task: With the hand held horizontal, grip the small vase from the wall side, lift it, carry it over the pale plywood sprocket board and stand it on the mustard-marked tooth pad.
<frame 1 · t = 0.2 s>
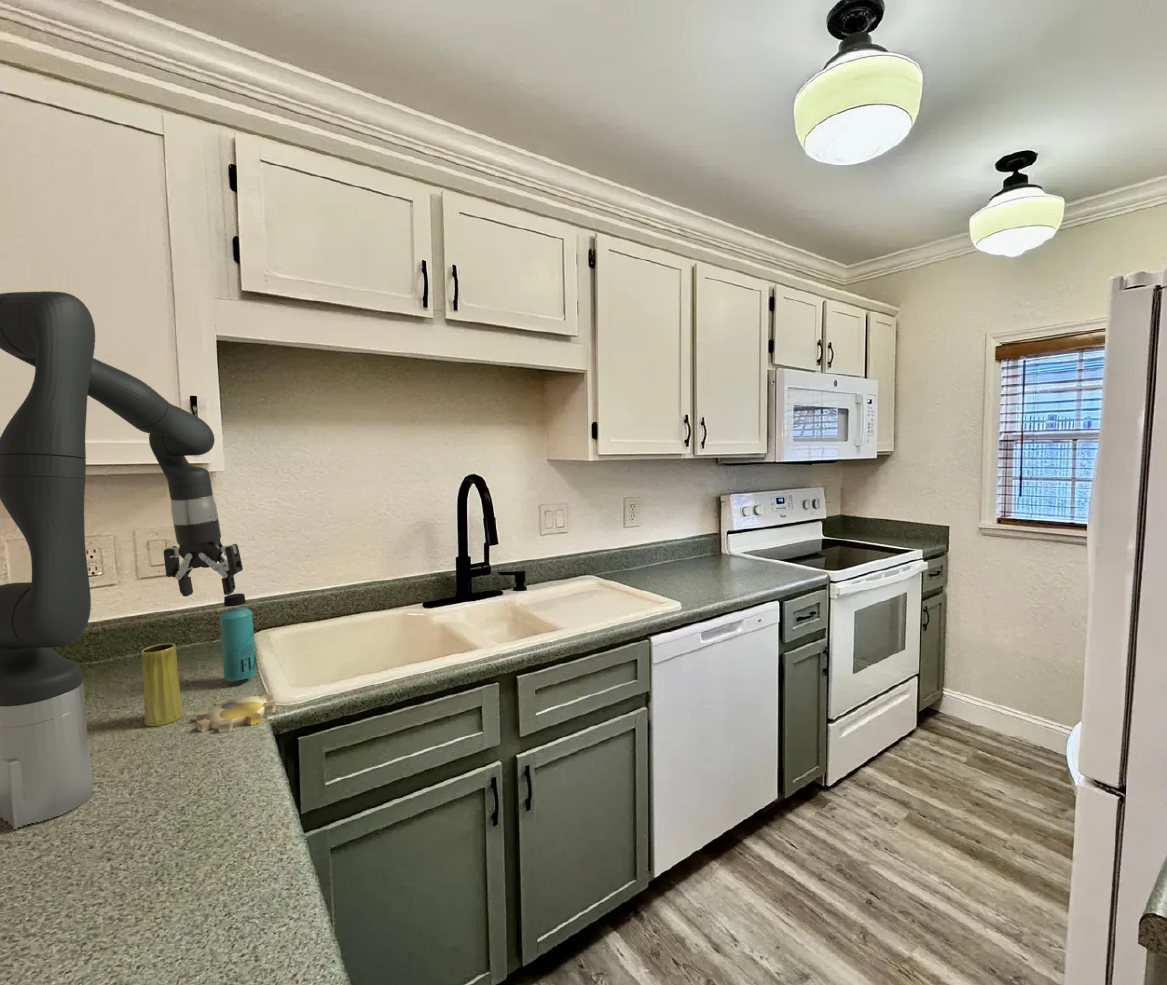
hand: (208, 594, 115), 22 cm above the worktop, tool pointing down, fingers open, 8 cm apart
beverage bottle: (241, 682, 124), on the worktop
vase: (164, 720, 107), on the worktop
sprocket board: (237, 715, 108), on the worktop
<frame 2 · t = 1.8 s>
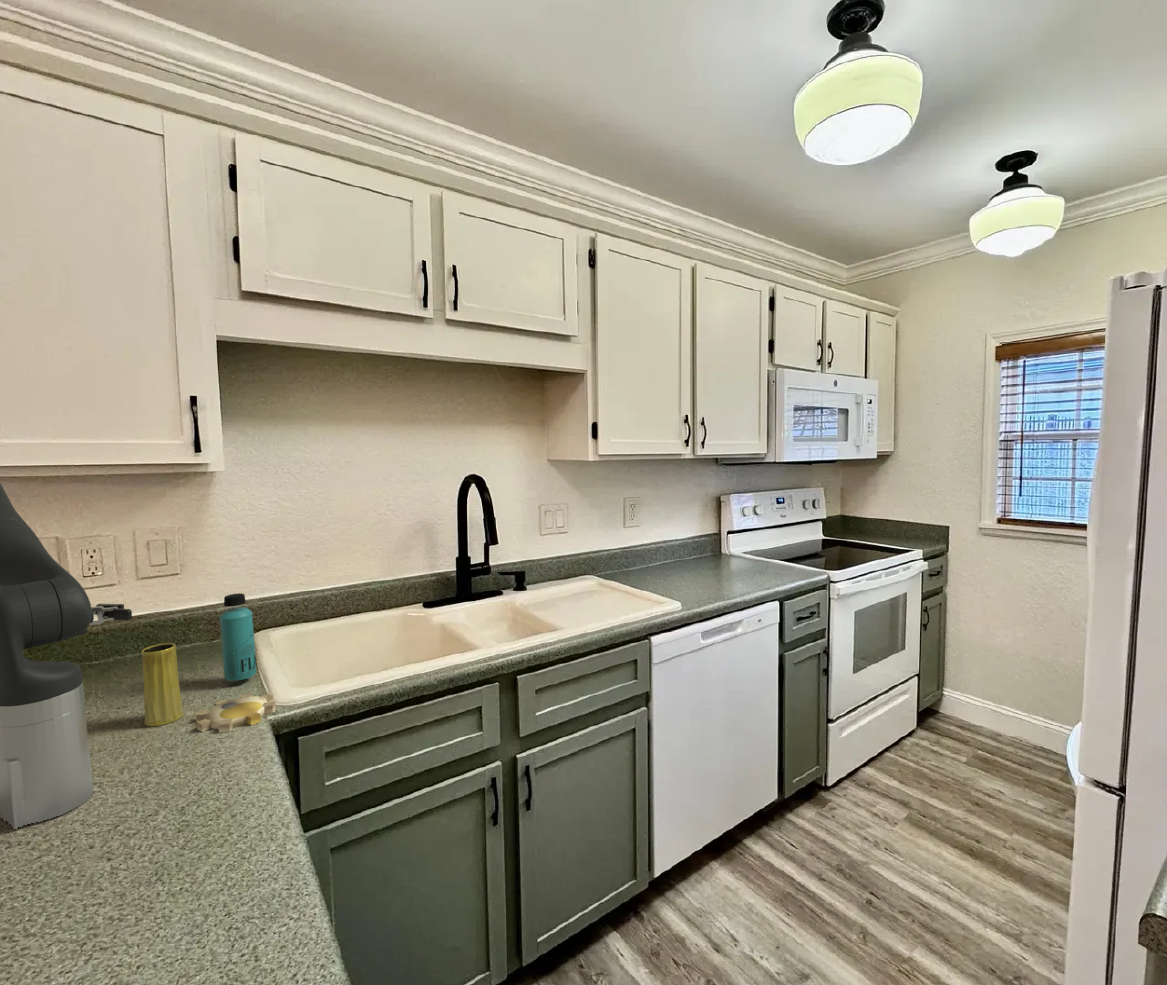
hand: (108, 621, 107), 19 cm above the worktop, tool horizontal, fingers open, 8 cm apart
nothing on the worktop moved.
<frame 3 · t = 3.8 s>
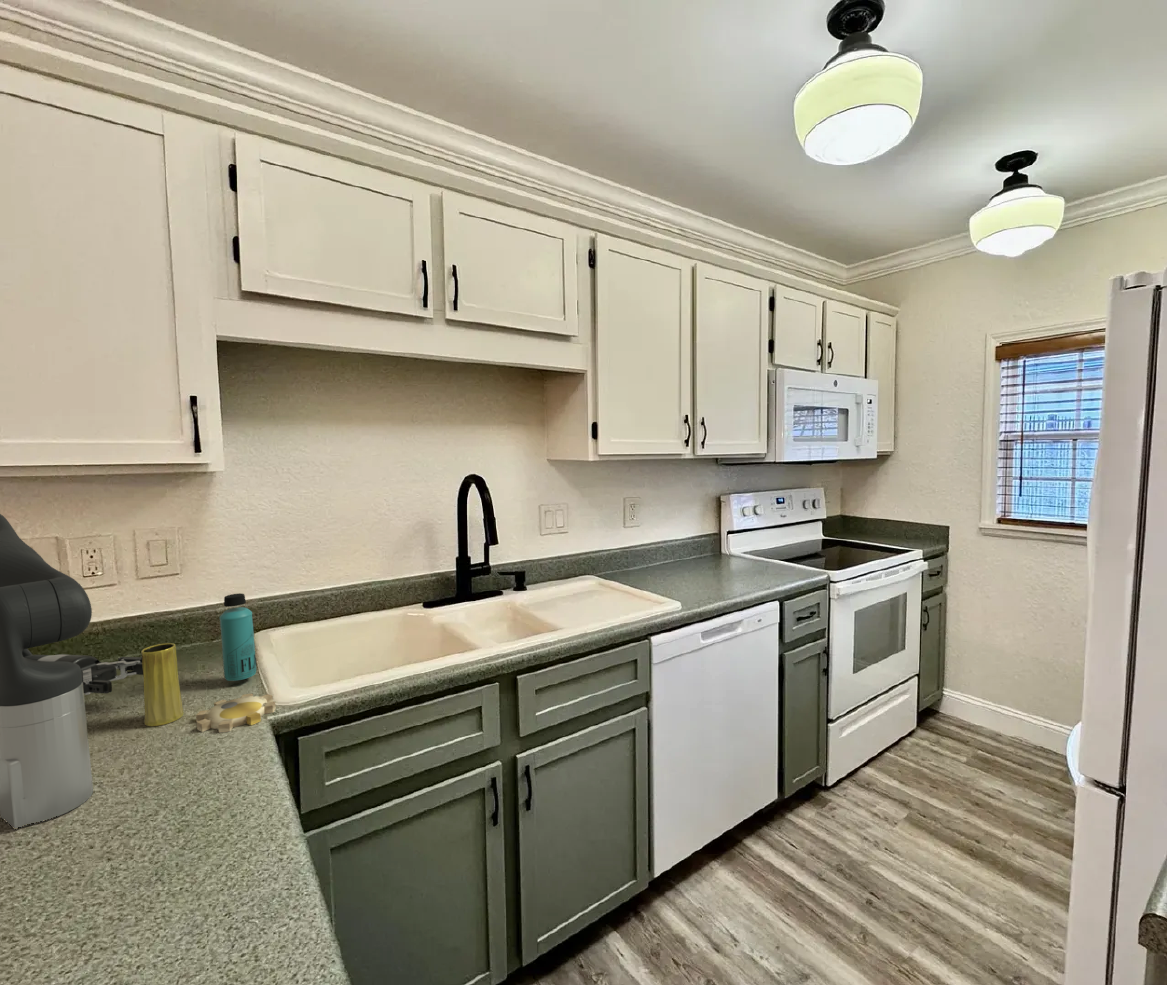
hand: (132, 677, 107), 8 cm above the worktop, tool horizontal, fingers open, 8 cm apart
nothing on the worktop moved.
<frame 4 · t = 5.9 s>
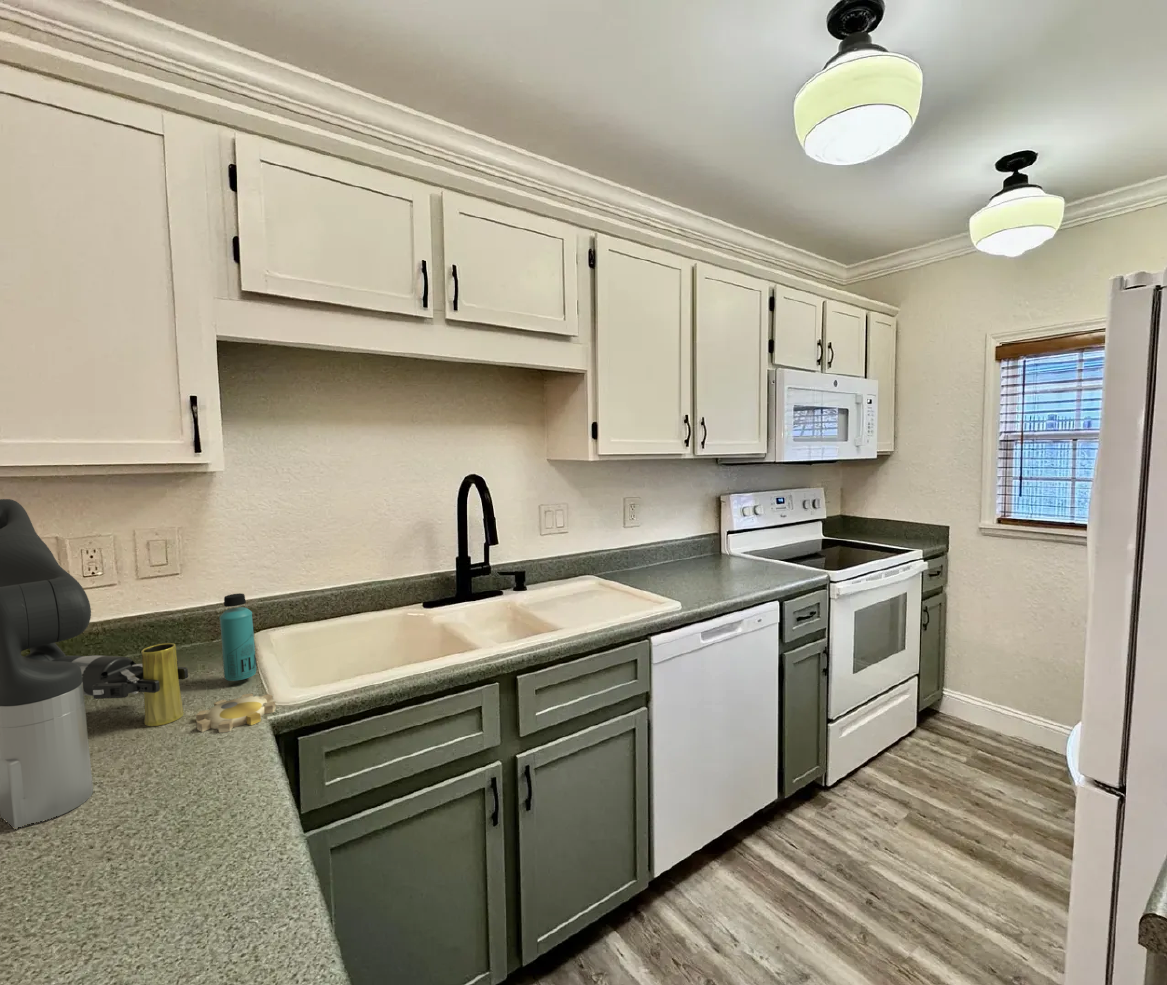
hand: (172, 679, 106), 8 cm above the worktop, tool horizontal, fingers closed on vase, 5 cm apart
vase: (164, 720, 107), on the worktop, touching gripper
everything else where it was.
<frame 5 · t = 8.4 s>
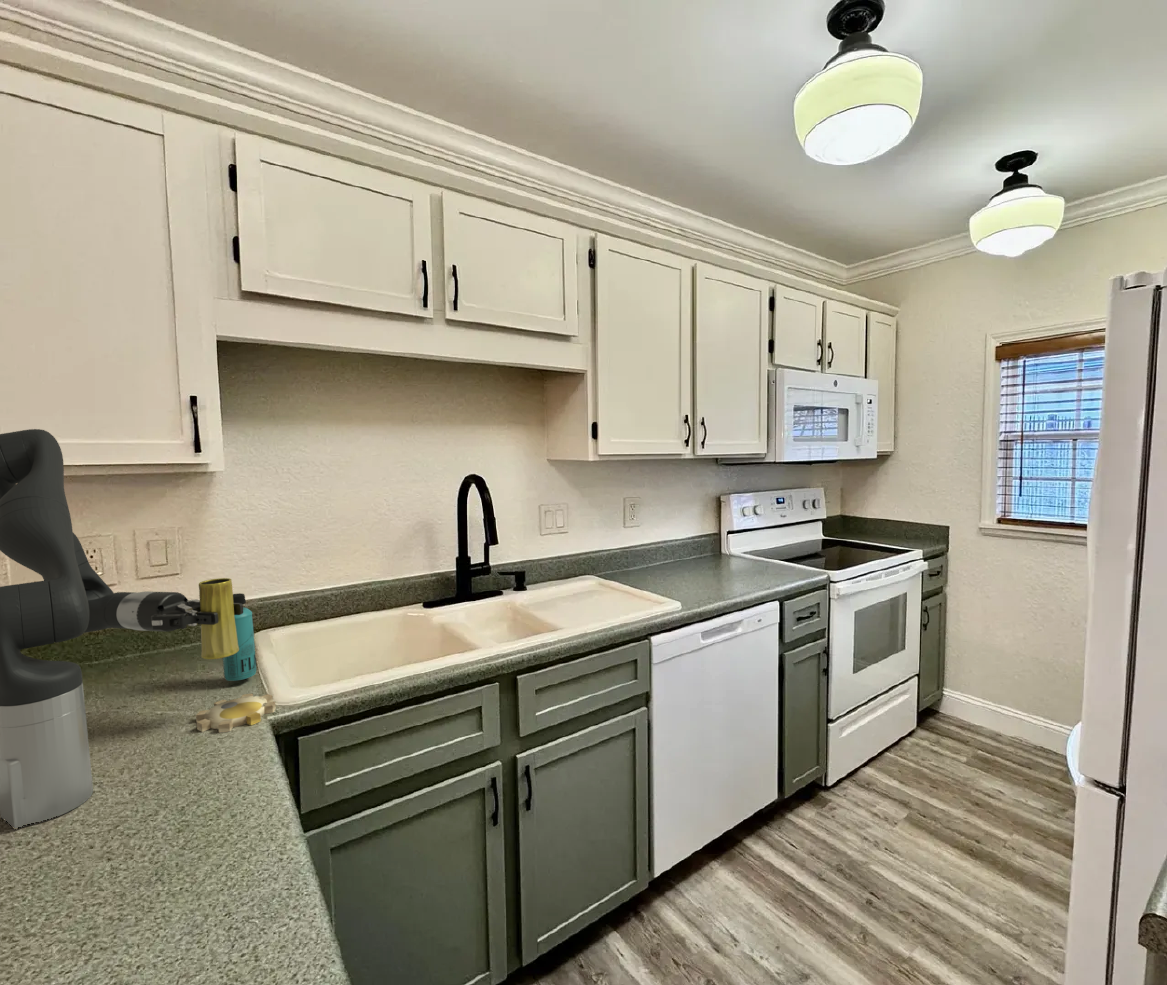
hand: (229, 613, 105), 21 cm above the worktop, tool horizontal, fingers closed on vase, 5 cm apart
vase: (220, 654, 106), point 13 cm above the worktop, touching gripper
everything else where it was.
when the fingers open (11 cm above the worktop, at t = 11.1 s): vase drops 1 cm, resting on sprocket board.
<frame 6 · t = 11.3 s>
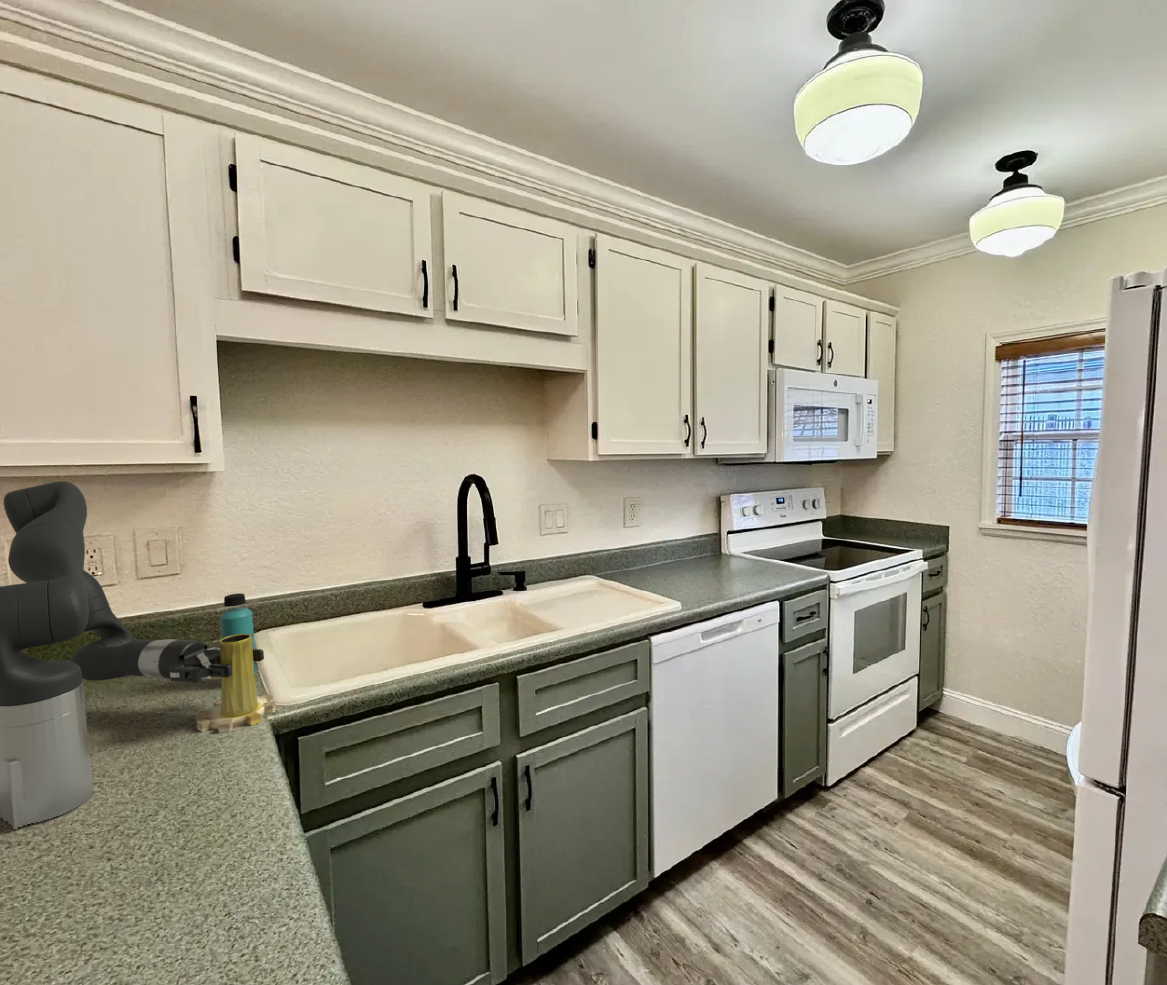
hand: (247, 663, 106), 11 cm above the worktop, tool horizontal, fingers open, 7 cm apart
vase: (240, 710, 107), point 1 cm above the worktop, touching sprocket board
everything else where it was.
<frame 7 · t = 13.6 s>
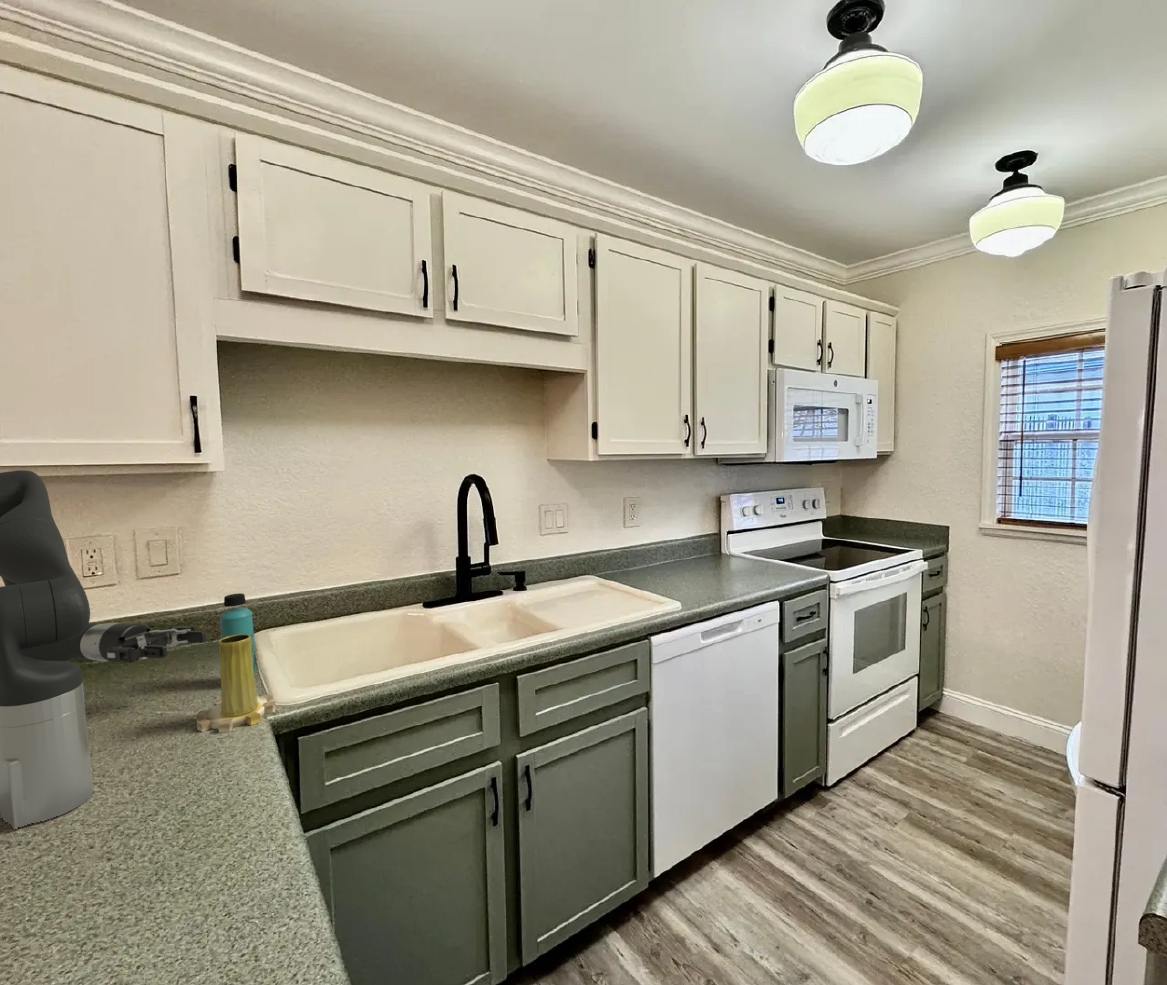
hand: (185, 644, 108), 14 cm above the worktop, tool horizontal, fingers open, 8 cm apart
nothing on the worktop moved.
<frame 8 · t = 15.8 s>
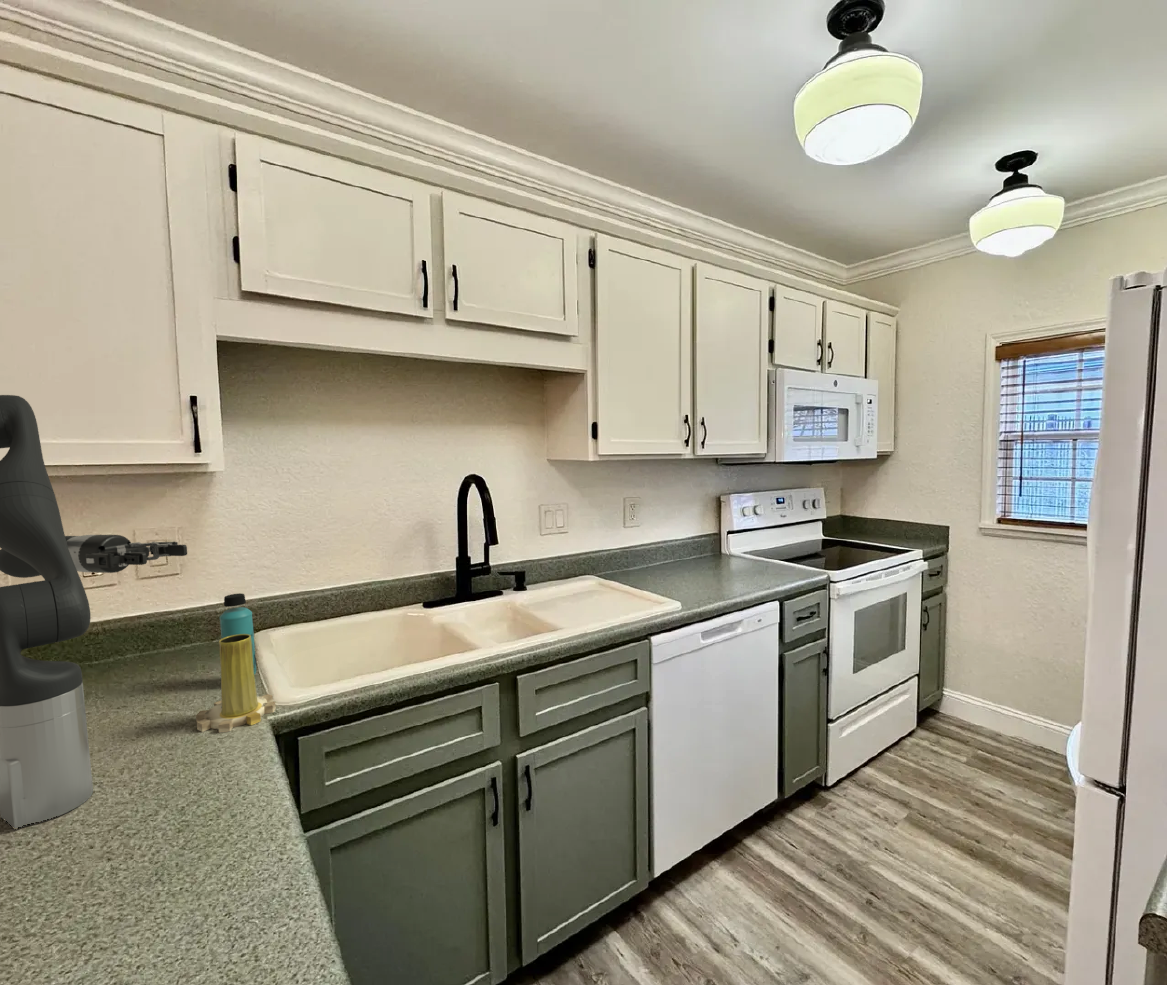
hand: (166, 554, 107), 32 cm above the worktop, tool horizontal, fingers open, 8 cm apart
nothing on the worktop moved.
at the end: vase inside the target area on the sprocket board (0.1 cm from its centre), point 1.3 cm above the sprocket board's base; vase tilted 0°; the gripper is holding nothing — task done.
